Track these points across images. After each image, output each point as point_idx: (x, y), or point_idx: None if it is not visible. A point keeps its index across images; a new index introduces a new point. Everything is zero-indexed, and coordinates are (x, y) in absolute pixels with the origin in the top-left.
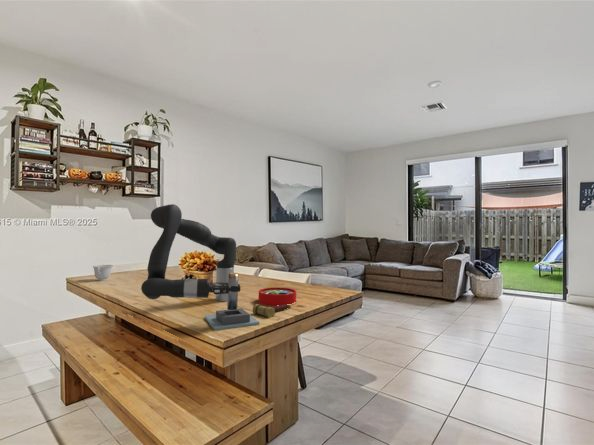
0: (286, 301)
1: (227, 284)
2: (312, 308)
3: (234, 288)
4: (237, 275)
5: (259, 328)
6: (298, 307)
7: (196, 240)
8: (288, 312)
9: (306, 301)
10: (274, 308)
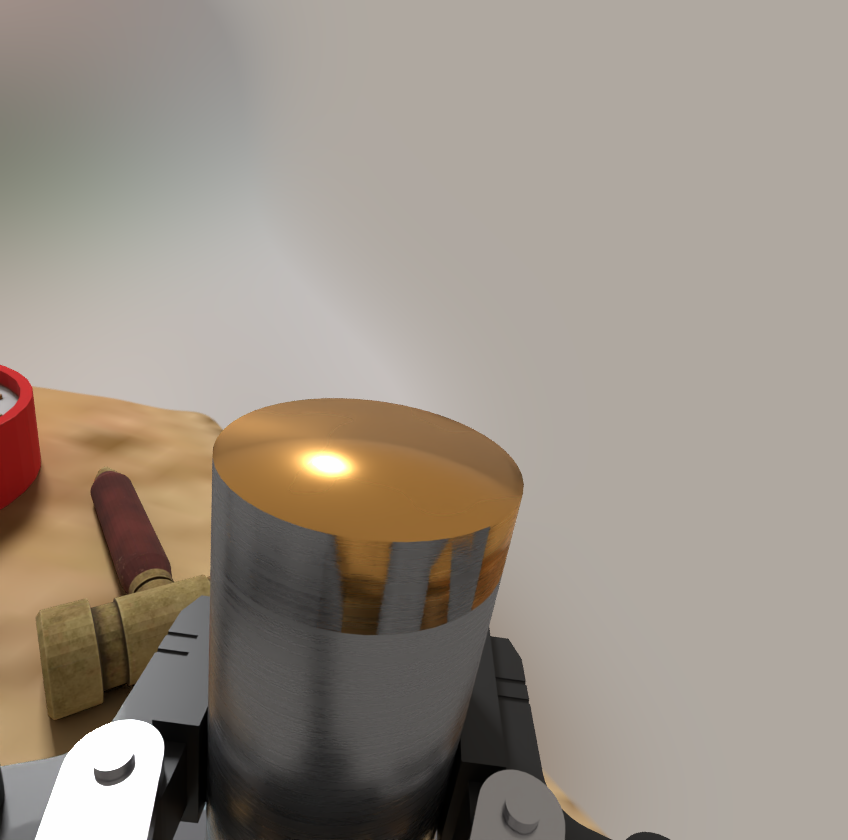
0: (32, 452)
1: (152, 829)
2: (202, 430)
3: (529, 729)
4: (460, 435)
5: (550, 781)
6: (134, 456)
7: None
8: (207, 517)
9: (42, 401)
10: (162, 549)
